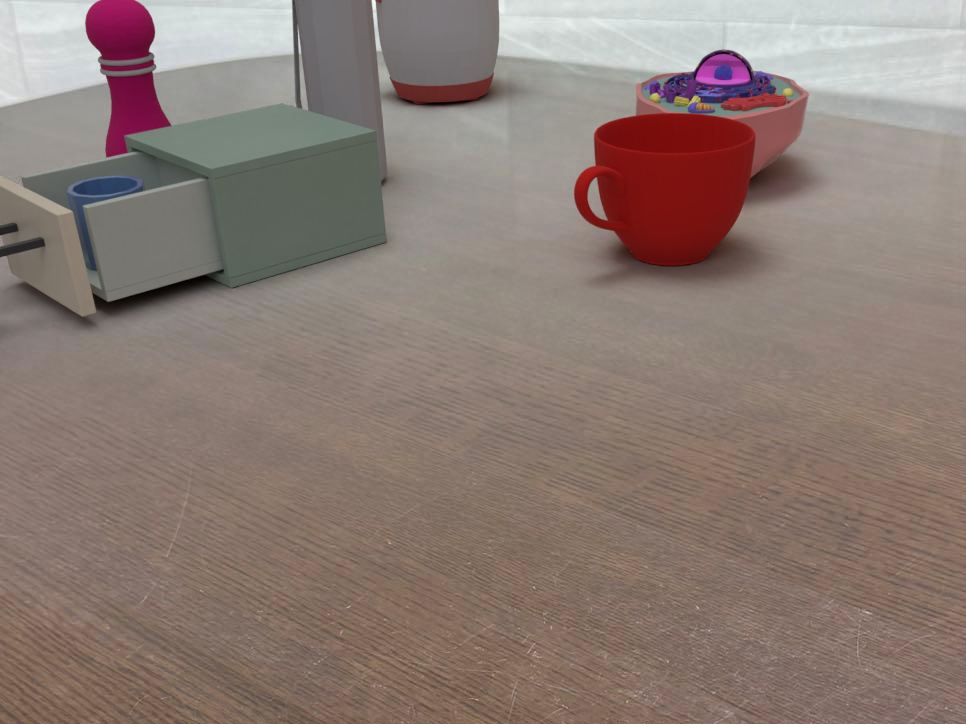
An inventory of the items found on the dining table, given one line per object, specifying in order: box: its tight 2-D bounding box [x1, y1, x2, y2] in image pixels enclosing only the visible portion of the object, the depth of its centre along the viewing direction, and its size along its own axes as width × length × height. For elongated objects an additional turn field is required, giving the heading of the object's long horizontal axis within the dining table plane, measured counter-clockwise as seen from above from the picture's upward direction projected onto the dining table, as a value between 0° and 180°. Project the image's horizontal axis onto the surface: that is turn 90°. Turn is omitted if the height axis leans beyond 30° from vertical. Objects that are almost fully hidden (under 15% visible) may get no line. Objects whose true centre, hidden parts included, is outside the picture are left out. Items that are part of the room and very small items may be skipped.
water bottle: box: [291, 0, 388, 182], centre depth 115 cm, size 9×8×25 cm
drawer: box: [0, 151, 224, 318], centre depth 95 cm, size 20×13×8 cm, turn 132°
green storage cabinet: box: [124, 102, 387, 289], centre depth 104 cm, size 16×15×10 cm
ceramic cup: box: [573, 113, 755, 267], centre depth 98 cm, size 13×17×10 cm
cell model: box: [635, 48, 810, 179], centre depth 118 cm, size 17×20×11 cm
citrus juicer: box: [374, 0, 500, 105], centre depth 148 cm, size 16×17×20 cm
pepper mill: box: [84, 0, 173, 158], centre depth 112 cm, size 7×7×20 cm
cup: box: [67, 175, 145, 271], centre depth 96 cm, size 6×6×6 cm
